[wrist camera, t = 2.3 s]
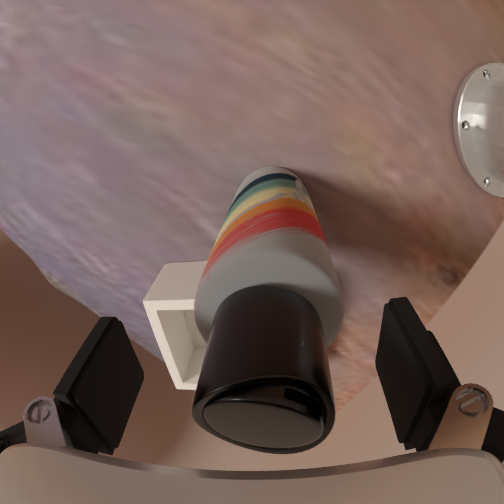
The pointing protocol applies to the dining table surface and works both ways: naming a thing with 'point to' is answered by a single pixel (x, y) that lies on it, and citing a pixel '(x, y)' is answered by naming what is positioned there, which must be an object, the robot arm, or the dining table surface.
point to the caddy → (177, 320)
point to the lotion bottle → (268, 321)
